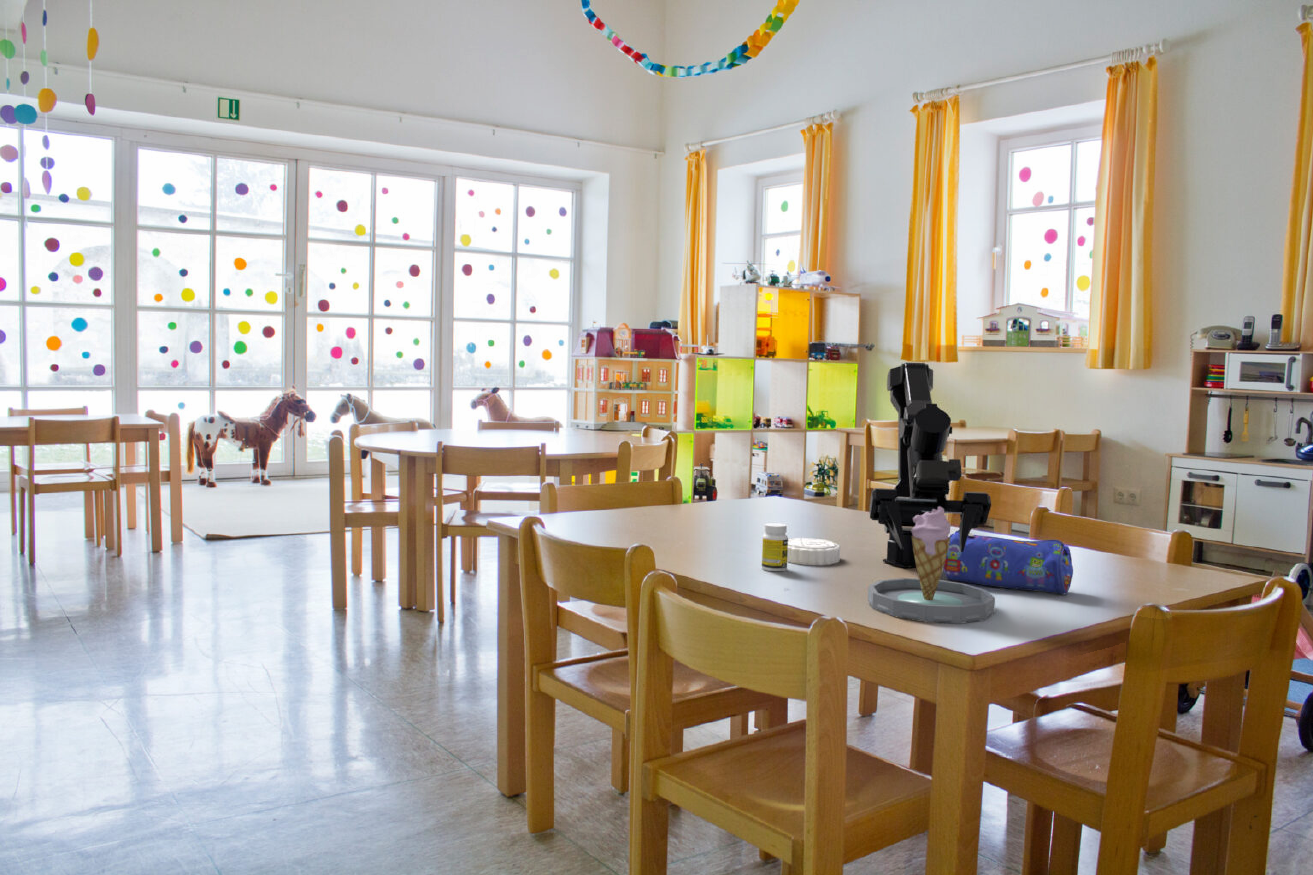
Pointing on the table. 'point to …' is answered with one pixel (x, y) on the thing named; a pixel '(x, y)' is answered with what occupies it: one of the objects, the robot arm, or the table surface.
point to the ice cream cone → (930, 548)
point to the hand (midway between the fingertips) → (932, 549)
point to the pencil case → (1010, 563)
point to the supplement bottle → (775, 547)
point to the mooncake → (812, 551)
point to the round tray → (931, 601)
